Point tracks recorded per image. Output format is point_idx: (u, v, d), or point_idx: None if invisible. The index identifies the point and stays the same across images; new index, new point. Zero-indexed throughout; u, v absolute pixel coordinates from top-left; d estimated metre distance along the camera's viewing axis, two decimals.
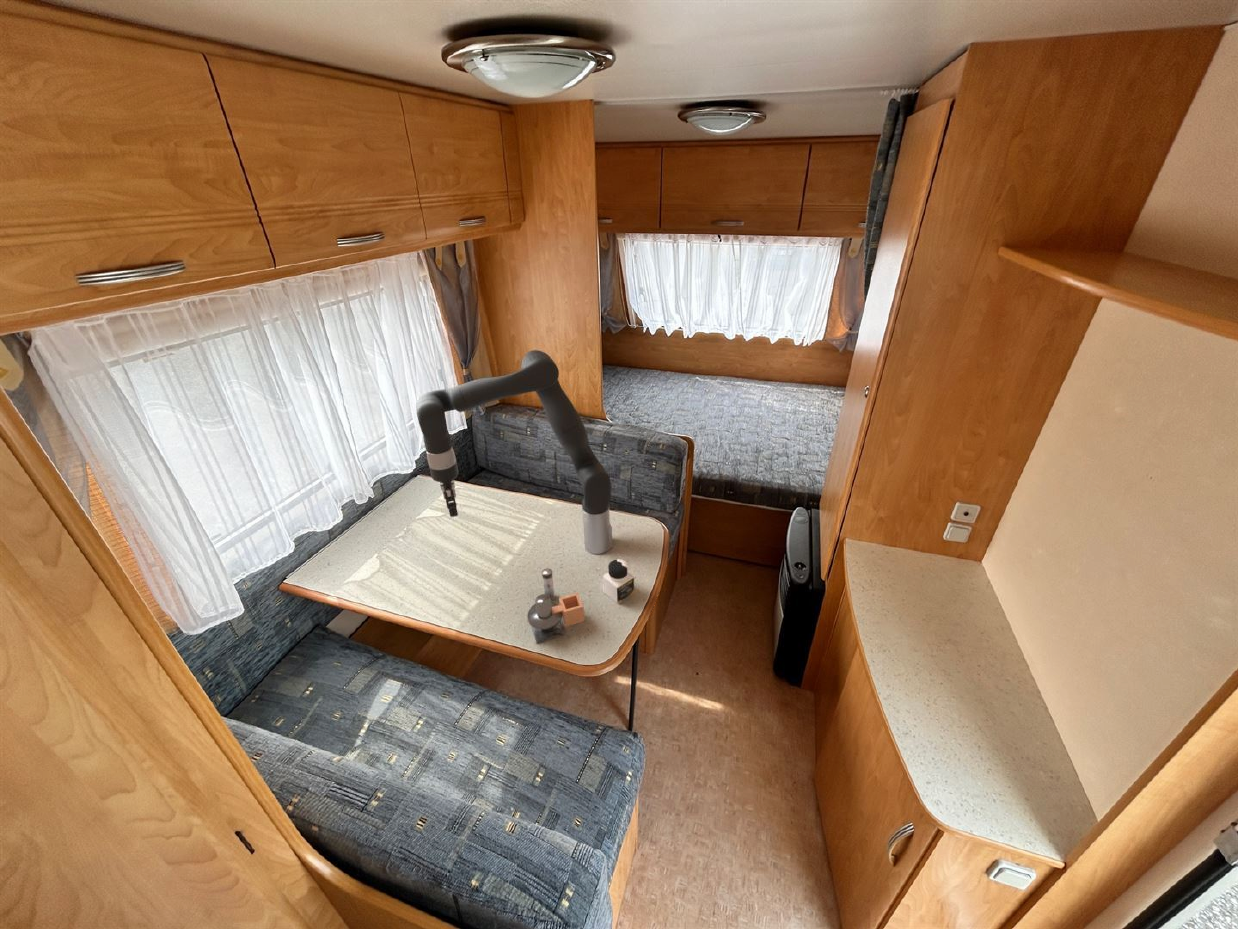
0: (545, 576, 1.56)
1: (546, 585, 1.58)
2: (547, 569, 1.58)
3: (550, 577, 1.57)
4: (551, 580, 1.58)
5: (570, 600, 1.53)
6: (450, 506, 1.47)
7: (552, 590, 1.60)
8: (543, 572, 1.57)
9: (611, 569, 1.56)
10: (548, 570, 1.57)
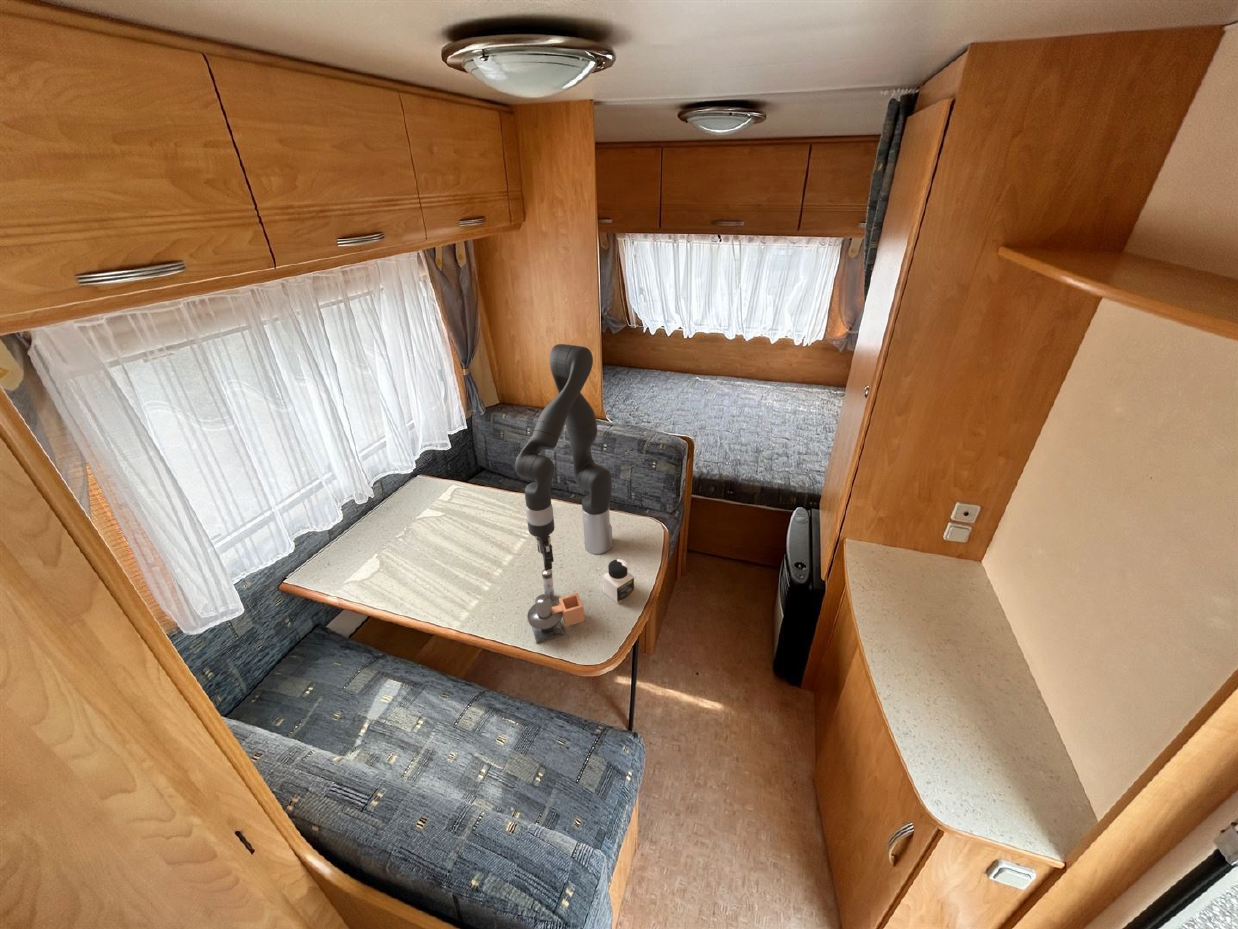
0: (545, 576, 1.56)
1: (546, 585, 1.58)
2: None
3: (550, 577, 1.57)
4: (551, 580, 1.58)
5: (570, 600, 1.53)
6: (548, 561, 1.46)
7: (552, 590, 1.60)
8: (543, 572, 1.57)
9: (611, 569, 1.57)
10: (548, 570, 1.57)
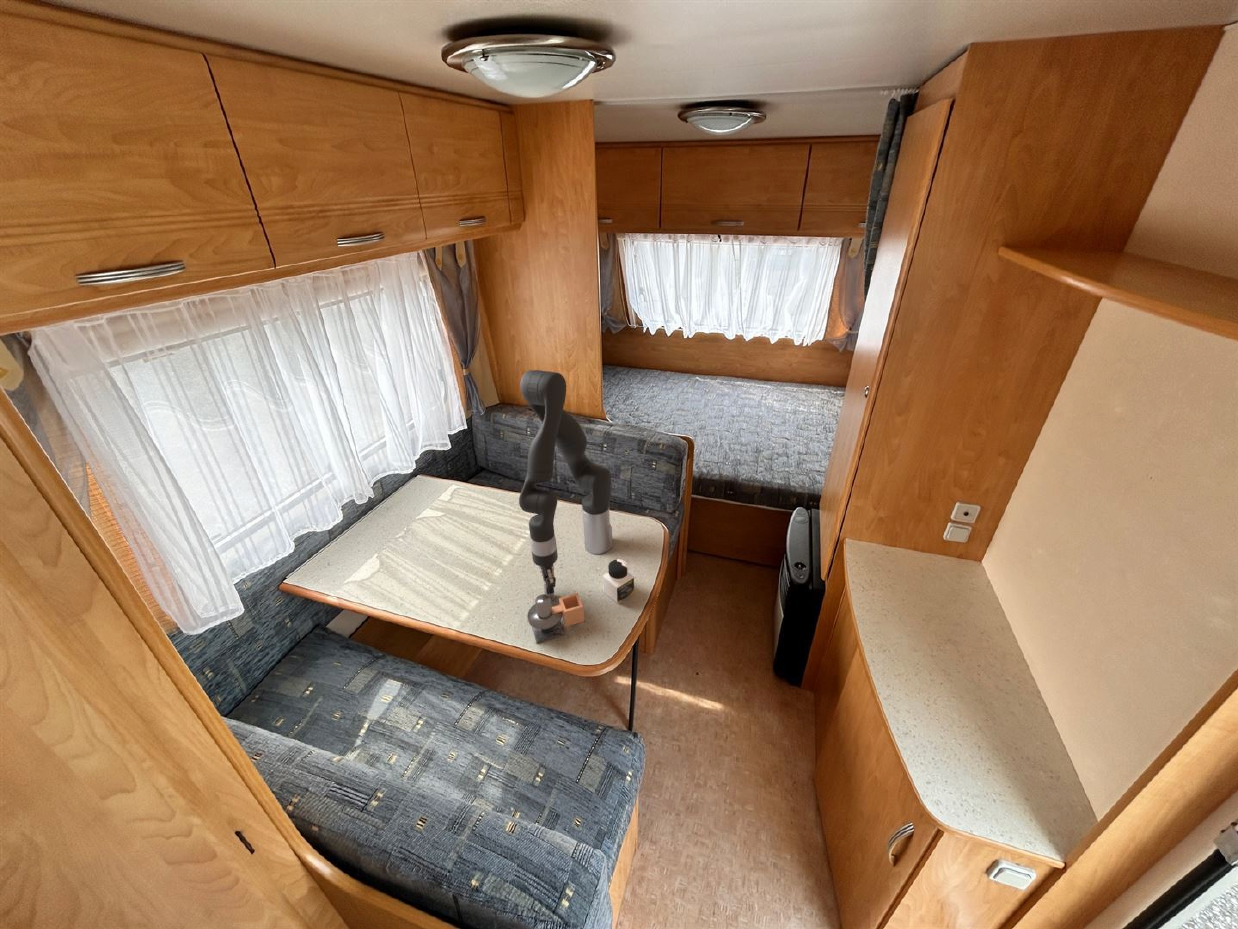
0: (545, 576, 1.56)
1: None
2: None
3: None
4: None
5: (570, 600, 1.53)
6: (550, 586, 1.54)
7: None
8: None
9: (611, 569, 1.57)
10: None
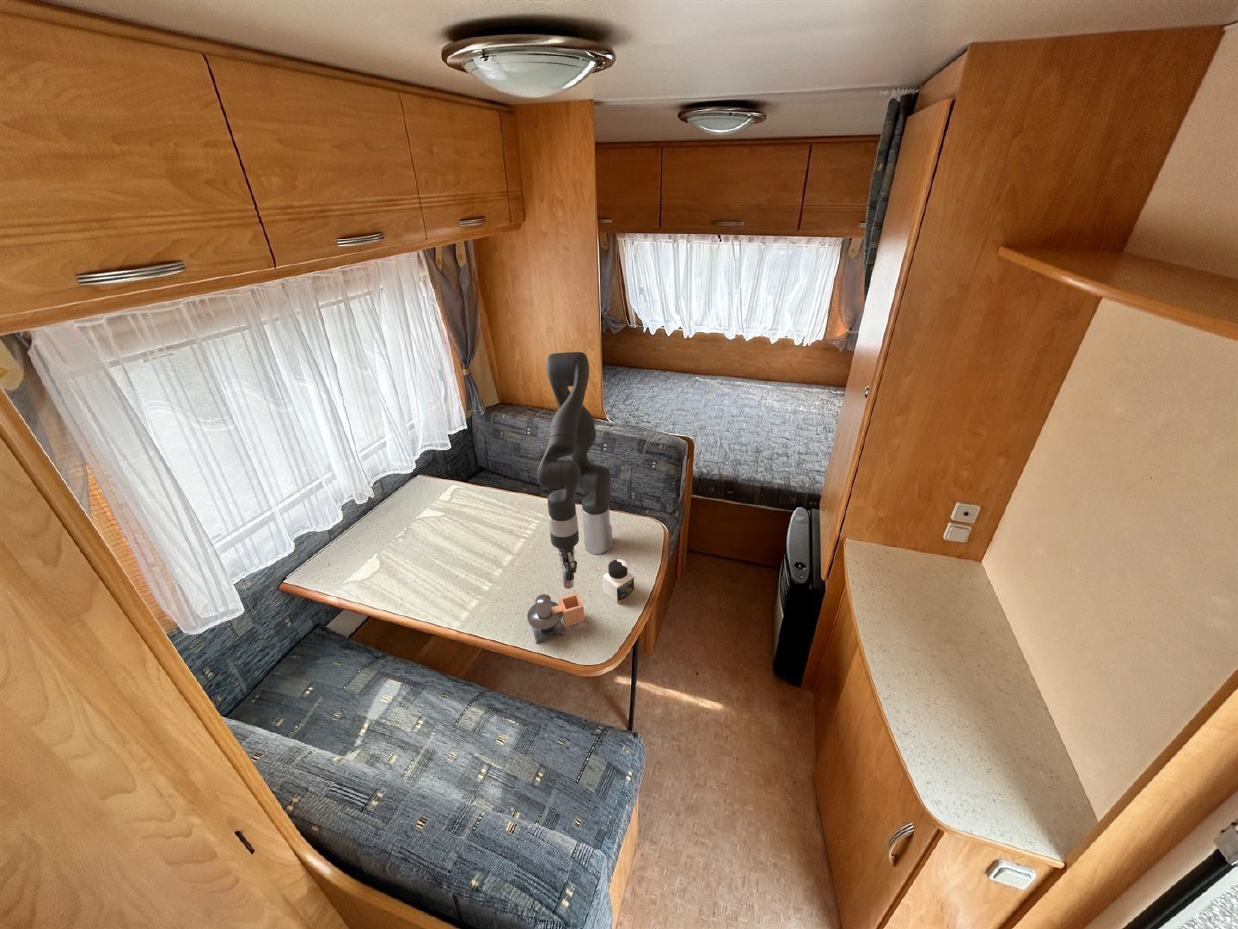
0: None
1: None
2: None
3: None
4: None
5: (570, 600, 1.53)
6: (570, 572, 1.38)
7: None
8: None
9: (611, 569, 1.57)
10: None
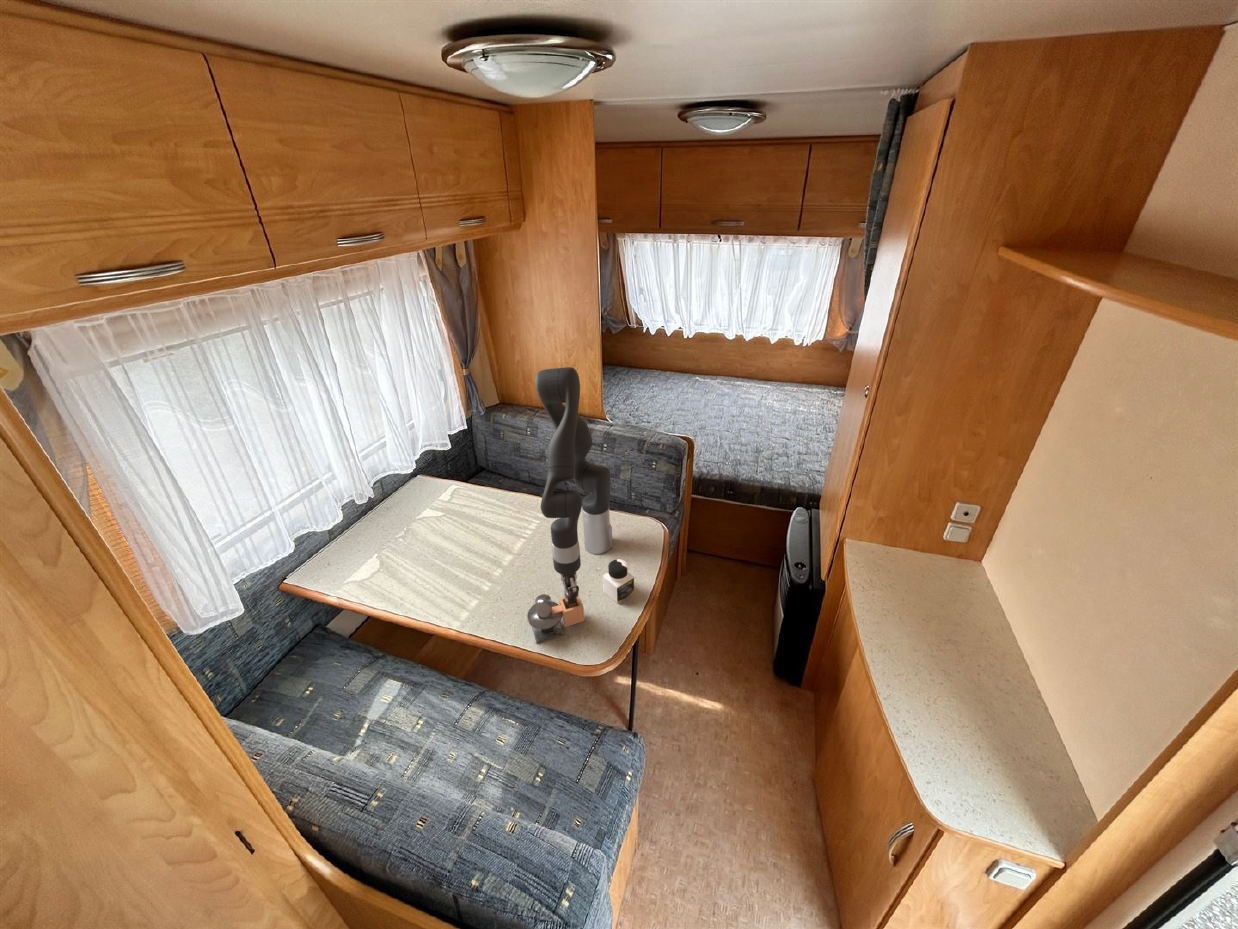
0: None
1: None
2: None
3: None
4: None
5: None
6: (572, 596, 1.43)
7: None
8: None
9: (611, 569, 1.57)
10: None
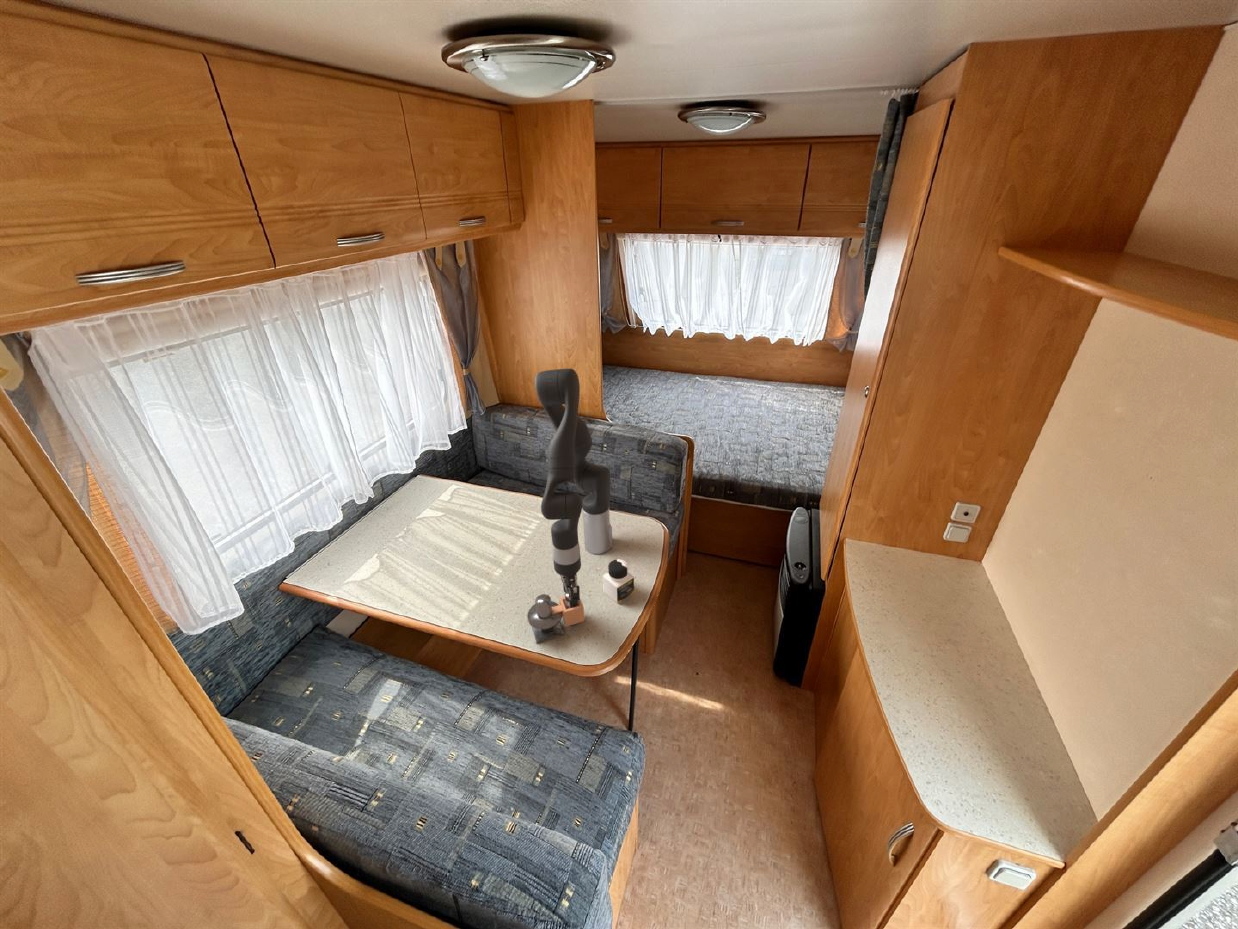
0: (568, 599, 1.48)
1: None
2: None
3: None
4: None
5: None
6: (574, 600, 1.42)
7: None
8: (566, 595, 1.48)
9: (611, 569, 1.57)
10: None
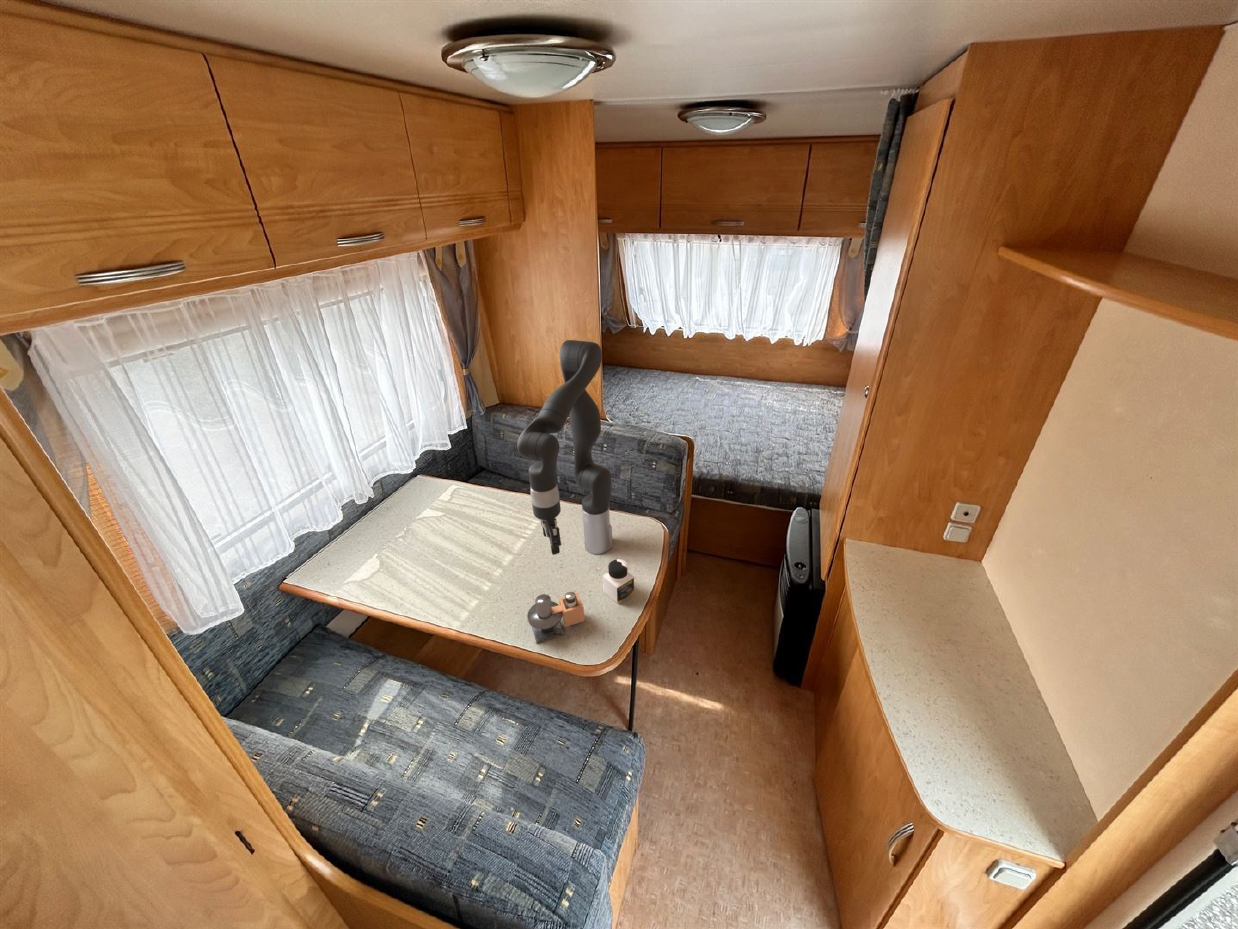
0: (568, 600, 1.47)
1: None
2: (570, 593, 1.49)
3: (574, 601, 1.48)
4: (574, 604, 1.49)
5: None
6: (555, 545, 1.39)
7: None
8: (566, 596, 1.48)
9: (611, 569, 1.57)
10: (571, 594, 1.49)
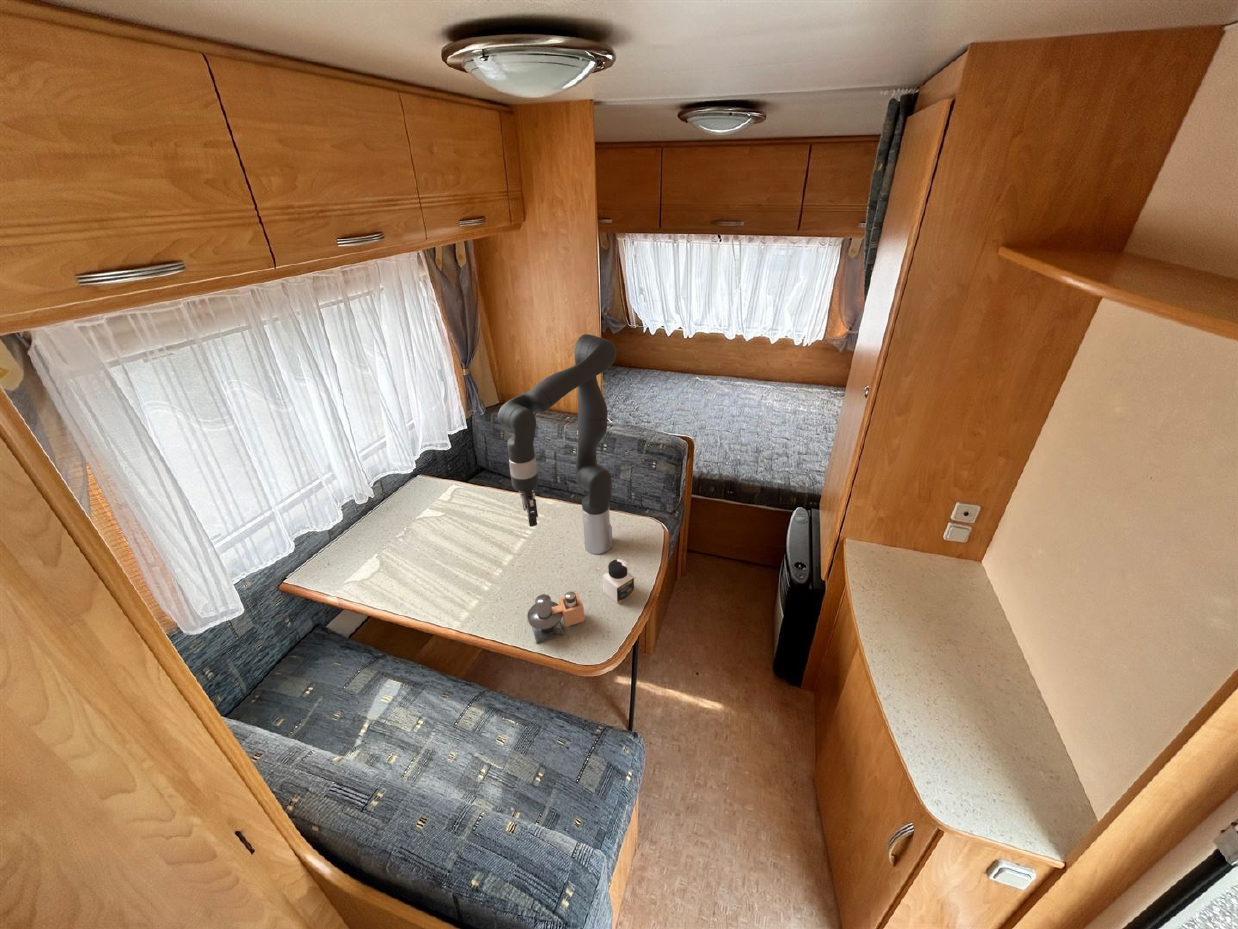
0: (568, 600, 1.47)
1: None
2: (570, 592, 1.49)
3: (574, 601, 1.48)
4: (574, 604, 1.49)
5: None
6: (532, 516, 1.44)
7: None
8: (566, 596, 1.48)
9: (611, 569, 1.57)
10: (571, 593, 1.49)
